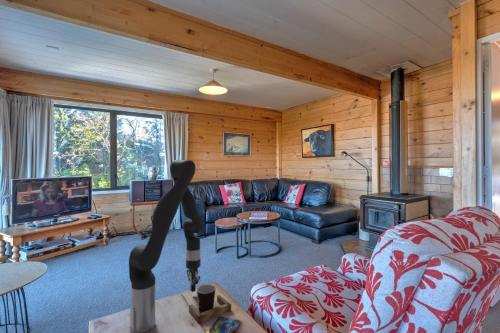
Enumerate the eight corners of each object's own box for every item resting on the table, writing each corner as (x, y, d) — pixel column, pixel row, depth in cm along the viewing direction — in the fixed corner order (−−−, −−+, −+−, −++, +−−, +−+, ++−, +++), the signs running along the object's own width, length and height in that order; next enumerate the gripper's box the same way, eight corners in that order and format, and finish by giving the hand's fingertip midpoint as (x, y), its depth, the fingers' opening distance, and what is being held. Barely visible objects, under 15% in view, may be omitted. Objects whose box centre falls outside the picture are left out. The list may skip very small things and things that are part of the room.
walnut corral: (198, 323, 105) (198, 316, 105) (189, 311, 114) (189, 305, 114) (231, 311, 114) (231, 304, 114) (219, 300, 123) (219, 294, 123)
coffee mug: (213, 316, 110) (213, 293, 110) (194, 315, 110) (194, 293, 111) (218, 302, 122) (218, 281, 122) (201, 301, 122) (201, 281, 122)
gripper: (181, 255, 132) (181, 288, 132) (191, 262, 121) (191, 298, 121) (194, 252, 136) (194, 284, 136) (205, 259, 126) (205, 294, 125)
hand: (193, 291), depth 128 cm, fingers closed
